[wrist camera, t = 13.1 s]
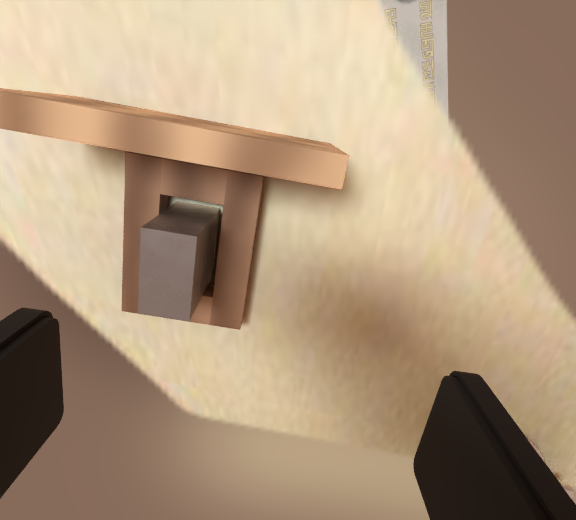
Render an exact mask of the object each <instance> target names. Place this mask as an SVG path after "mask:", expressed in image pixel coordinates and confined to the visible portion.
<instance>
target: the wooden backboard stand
mask: <svg viewBox="0 0 576 520" xmlns="http://www.w3.org/2000/svg"><path fill="white" fill-rule="evenodd" d="M0 128H1V129H6V130H12V131H18V132H23V133H29V134H34V135H40V136H45V137H51V138H57V139H62V140H68V141H73V142H79V143H84V144H90V145H96V146H101V147H107V148H112V149H118V150H123V151H129V152H126V159H125V199H124V240H123V281H122V311H125V312H132V313H138V294H139V265H140V235H141V227H142V226H143V225H145V224H146V223H148V222H149V221H150V220H152V219H153V218H154V217H156V216H157V215H159V214H160V213H161V212H163V211H164V210H166V209H167V208H168V196H174V197H180V198H185V199H191V200H197V201H203V202H208V203H214V204H220V205H224V206H223V215H222V223H221V232H220V240H219V249H218V257H217V266H216V274H215V283H214V286H211V285H208V286H207V288H206V290H205V292H204V294H203V296H202V298H201V300H200V302H199V304H198V306H197V308H196V310H195V311H194V313H193V315H192V317H191V319H190V321H189V322H195V323H201V324H208V325H214V326H220V327H227V328H233V329H239V330H240V328H241V324H242V320H243V315H244V308H245V301H246V295H247V288H248V282H249V275H250V268H251V262H252V255H253V249H254V242H255V236H256V229H257V222H258V216H259V209H260V203H261V196H262V190H263V183H264V176H268V177H274V178H279V179H285V180H291V181H296V182H302V183H307V184H313V185H318V186H324V187H330V188H335V189H341V190H342V187H343V183H344V178H345V174H346V169H347V165H348V160H349V155H347V154H346V153H344V152H343V151H341V150H340V149H338V148H336V147H335V146H333V145H332V144H330V143H325V142H319V141H314V140H308V139H303V138H298V137H292V136H287V135H281V134H276V133H271V132H265V131H260V130H255V129H249V128H244V127H238V126H233V125H228V124H222V123H217V122H211V121H206V120H201V119H195V118H190V117H184V116H179V115H174V114H168V113H163V112H158V111H152V110H147V109H141V108H136V107H131V106H125V105H120V104H114V103H109V102H104V101H98V100H93V99H87V98H82V97H77V96H67V95H58V94H49V93H39V92H30V91H21V90H11V89H2V88H0ZM163 318H164V317H163ZM176 320H177V319H176ZM182 321H183V320H182Z"/></svg>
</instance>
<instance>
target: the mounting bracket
mask: <svg viewBox="0 0 576 520" xmlns="http://www.w3.org/2000/svg"><path fill="white" fill-rule="evenodd" d="M378 1H379V4H380V7H381V9H382V11H383V12H384V14H385V15H386V17H387V20H388V23H389V25H390V27H391V28H392V29H393V31H394V34H395V37H396V39H397V40H398V41H399V43H400V45H401V47H402V49H403V51H404V53H405V54H406V55H407V57H408V59H409V61H410V63H411V64H412V65H413V66H414V68H415V70H416V72H417V74H418V75H419V76H420V77H421V79H422V81H423V83H424V84H425V86H426V87H427V88H428V90H429V92H430V94H431V95H432V96H433V97H434V100H435V101H436V103H437V104H438V105H439V106H440V108H441V109H442V112H443V113H444V114H445V115H446V117H447V119H448V62H447V61H448V58H447V0H378Z"/></svg>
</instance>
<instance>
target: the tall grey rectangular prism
mask: <svg viewBox="0 0 576 520" xmlns="http://www.w3.org/2000/svg"><path fill="white" fill-rule="evenodd" d="M219 210H220V208H214V207H208V206H202V205H196V204H190V203H184V202H178V201H177V202H175V203H174V204H173V205H171V206H170V207H168V208H167V209H166V210H164V211H163V212H161V213H160V214H159V215H157V216H156V217H154V218H153V219H152V220H150V221H149V222H148V223H146V224H145V225H143V226H142V227H141V235H140V265H139V294H138V314H144V315H151V316H157V317H164V318H170V319H177V320H183V321H190V319H191V317H192V315H193V313H194V311H195V310H196V308H197V306H198V304H199V302H200V300H201V298H202V296H203V294H204V292H205V290H206V288H207V286H208V284H209V282H210V280H211V278H212V274H213V265H214V256H215V247H216V238H217V228H218V219H219Z"/></svg>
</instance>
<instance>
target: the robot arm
mask: <svg viewBox="0 0 576 520" xmlns="http://www.w3.org/2000/svg"><path fill="white" fill-rule="evenodd" d="M62 389H63V388H62V370H61V352H60V334H59V322H58V320H57V319H55V318H53V316H52V314H51V313H50V312H49V311H43V310H36V309H30V308H21V309H18V310H16V311H15V312H13V313H12V314H11V315H9V316H7V317H6V318H4V319H3V320H1V321H0V498H1V496H3V494H4V493H5V492H6V490H7V489H8V488H9V487H10V485H11V484H12V483H13V482H14V480H15V479H16V478H17V477H18V475H19V474H20V473H21V472H22V470H23V469H24V468H25V467H26V465H27V464H28V463H29V461H30V460H31V459H32V458H33V456H34V455H35V454H36V452H37V451H38V450H39V448H41V446H42V445H43V444H44V443H45V441H46V440H47V439H48V437H49V436H50V435H51V434H52V432H53V431H54V430H55V429H56V427H57V426H58V424H59V423H60V421H61V419H62V416H63V410H64V409H63V408H64V406H63V390H62ZM414 473H415V476H416V479H417V482H418V485H419V488H420V491H421V494H422V497H423V500H424V502H425V506H426V508H427V512H428V515H429V518H430V520H576V505H575V503H574V502H573V500H572V498H573V497H574V490H573V489H572V487H571V486H569V485H563V484H560V483H559V481H558V480H557V479H556V477H555V476H554V475H553V473H552V472H551V470H550V469H549V468H548V466H547V465H546V464H545V461H544V458H543V456H542V454H541V452H540V451H539V450H538V448H537V447H536V446H535V445H534V444H533V443H532V442H531V441H530V440H529V439H527V438H526V437H525V435H524V434H523V432H522V431H521V430H520V428H519V427H518V426H517V424H516V423H515V422H514V420H513V419H512V418H511V416H510V415H509V413H508V412H507V411H506V409H505V408H504V407H503V405H502V404H501V403H500V401H499V400H498V399H497V397H496V396H495V395H494V393H493V392H492V390H491V389H490V388H489V386H488V385H487V384H486V382H485V381H484V380H483V378H482V377H481V376H480V375H478V374H473V373H467V372H460V371H453V372H452V373H451V374H450V375H449V376H445V377H444V378H443V379H442V381H441V384H440V387H439V390H438V393H437V396H436V398H435V401H434V404H433V407H432V410H431V412H430V415H429V418H428V421H427V424H426V426H425V429H424V432H423V435H422V438H421V441H420V443H419V446H418V449H417V452H416V455H415V458H414Z"/></svg>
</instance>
